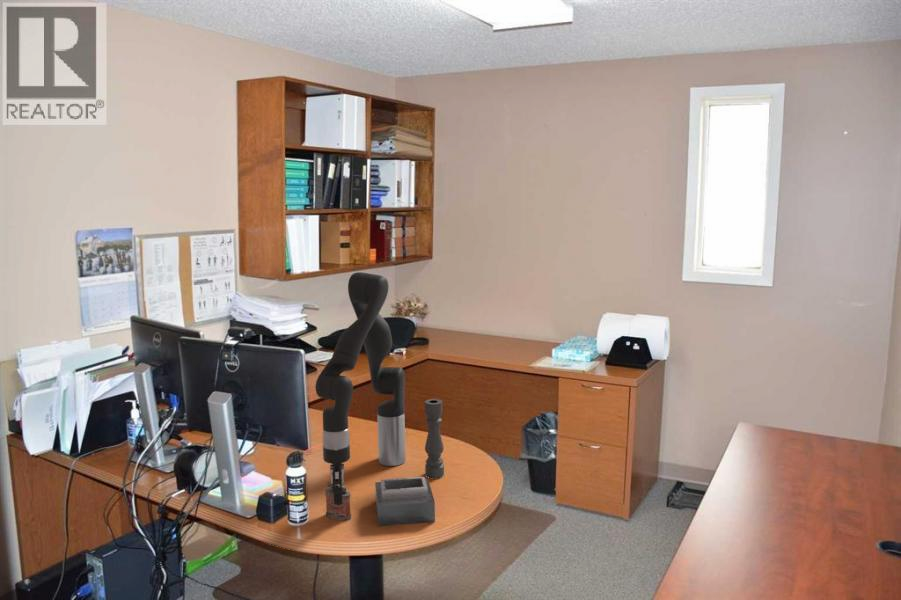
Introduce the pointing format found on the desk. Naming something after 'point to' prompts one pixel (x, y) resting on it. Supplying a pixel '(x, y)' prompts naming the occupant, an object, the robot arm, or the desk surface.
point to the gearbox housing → (404, 501)
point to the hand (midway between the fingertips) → (338, 497)
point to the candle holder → (434, 439)
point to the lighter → (337, 510)
